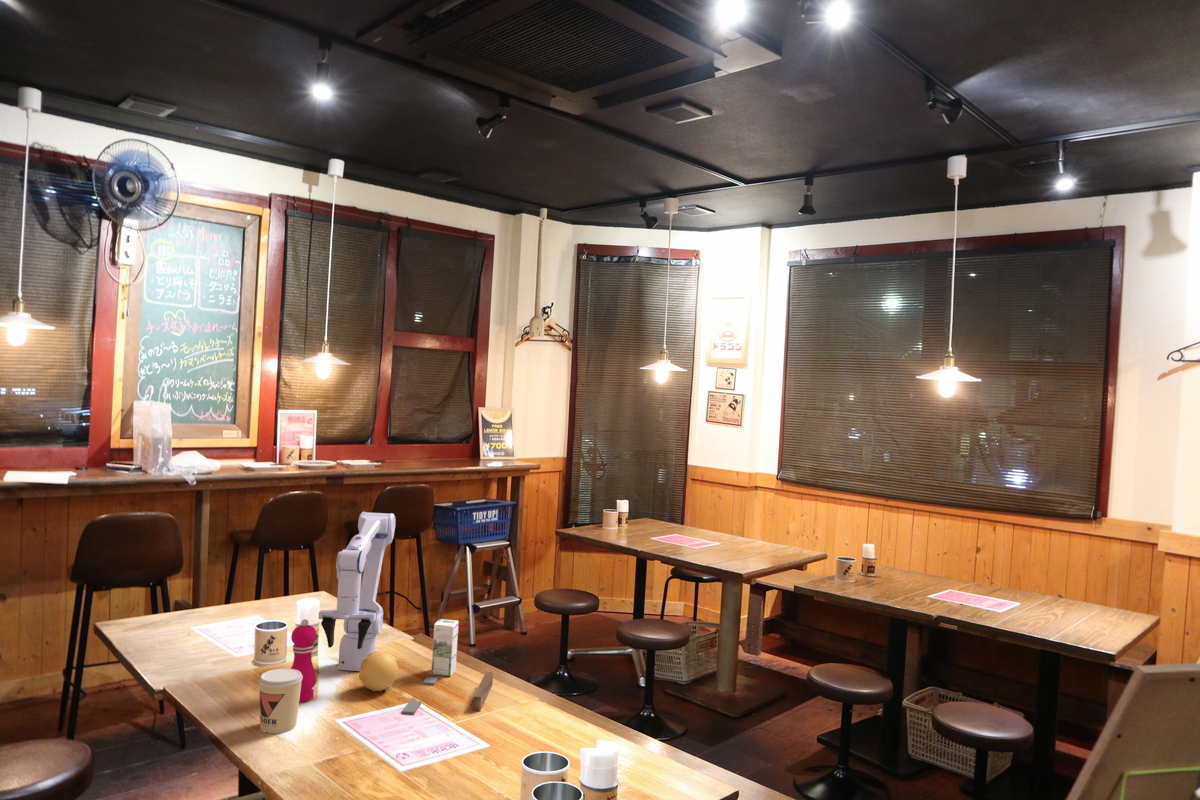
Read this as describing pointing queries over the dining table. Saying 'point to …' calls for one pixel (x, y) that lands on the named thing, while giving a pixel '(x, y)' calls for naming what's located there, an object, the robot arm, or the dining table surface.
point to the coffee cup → (279, 699)
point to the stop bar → (482, 691)
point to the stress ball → (378, 671)
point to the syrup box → (444, 647)
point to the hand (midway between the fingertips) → (345, 647)
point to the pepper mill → (304, 658)
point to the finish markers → (414, 705)
